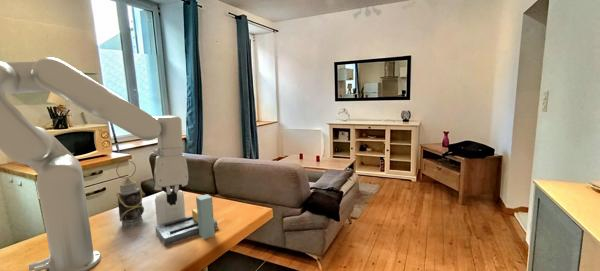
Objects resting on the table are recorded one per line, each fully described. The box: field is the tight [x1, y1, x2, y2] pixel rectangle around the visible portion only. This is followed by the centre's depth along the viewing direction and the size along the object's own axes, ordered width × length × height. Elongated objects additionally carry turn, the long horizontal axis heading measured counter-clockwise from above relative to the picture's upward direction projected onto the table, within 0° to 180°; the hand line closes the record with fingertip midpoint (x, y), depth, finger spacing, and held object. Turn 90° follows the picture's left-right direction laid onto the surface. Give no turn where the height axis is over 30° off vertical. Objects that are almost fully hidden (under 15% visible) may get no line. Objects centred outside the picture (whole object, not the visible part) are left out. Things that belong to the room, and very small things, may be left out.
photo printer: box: [154, 189, 186, 226], centre depth 108 cm, size 10×4×12 cm, turn 123°
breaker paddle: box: [191, 207, 198, 223], centre depth 103 cm, size 3×5×4 cm, turn 40°
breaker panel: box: [155, 215, 219, 247], centre depth 100 cm, size 18×12×3 cm, turn 130°
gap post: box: [195, 193, 216, 240], centre depth 96 cm, size 4×4×14 cm
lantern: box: [115, 159, 145, 228], centre depth 105 cm, size 9×8×25 cm
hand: (172, 203), depth 96 cm, fingers closed
